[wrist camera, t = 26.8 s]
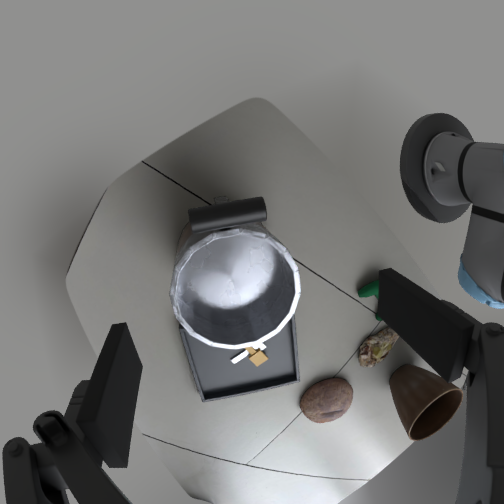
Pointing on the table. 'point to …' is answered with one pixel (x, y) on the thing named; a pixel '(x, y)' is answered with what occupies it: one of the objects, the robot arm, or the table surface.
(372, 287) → the gaming controller
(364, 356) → the mineral rock
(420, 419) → the flower pot
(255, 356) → the brass key
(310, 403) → the decorative stone
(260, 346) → the silver key
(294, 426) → the table surface
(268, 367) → the tray
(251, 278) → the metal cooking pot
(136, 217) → the table surface
